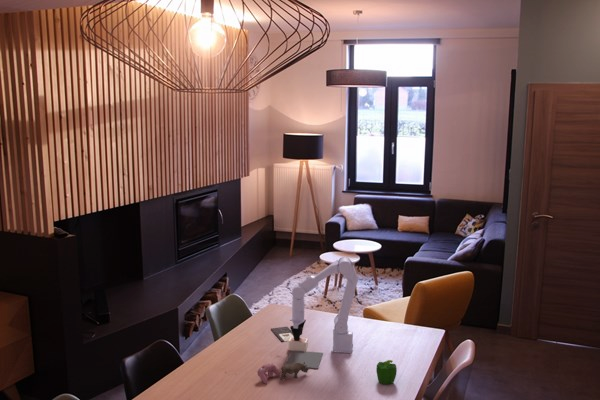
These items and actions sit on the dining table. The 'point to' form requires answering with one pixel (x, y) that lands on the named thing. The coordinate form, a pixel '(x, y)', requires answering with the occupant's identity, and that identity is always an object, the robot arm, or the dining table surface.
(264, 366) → the pink gorilla figurine
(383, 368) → the bell pepper
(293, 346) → the card deck
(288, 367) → the rhino figurine
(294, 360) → the charcoal mat
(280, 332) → the chocolate bar
